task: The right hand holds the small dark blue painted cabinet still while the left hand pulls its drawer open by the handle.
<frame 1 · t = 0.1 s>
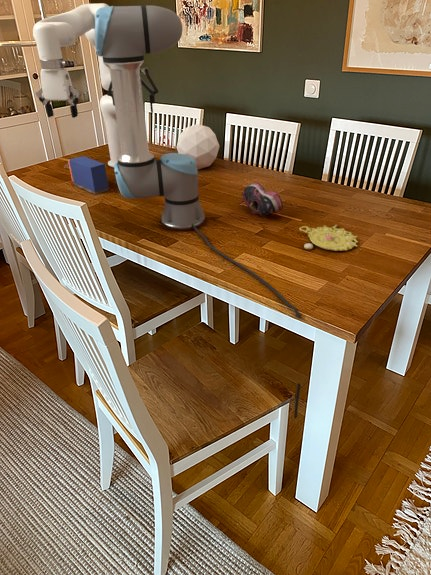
left hand: (62, 116, 163), 31 cm above the table, tool pointing down, fingers open, 9 cm apart
right hand: (135, 113, 181), 28 cm above the table, tool pointing down, fingers open, 13 cm apart
drawer: (81, 171, 190), point 6 cm above the table, slide at 1.7 cm
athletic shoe: (257, 211, 163), on the table
decorative object: (328, 239, 142), on the table
sphere: (198, 167, 208), on the table
cabinet: (91, 187, 189), on the table
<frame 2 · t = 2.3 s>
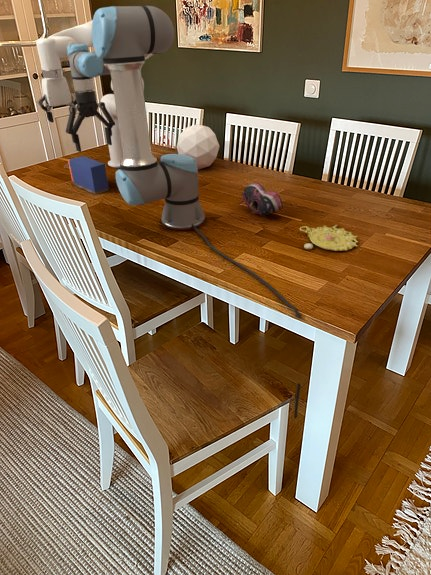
left hand: (62, 119, 183), 26 cm above the table, tool pointing down, fingers open, 9 cm apart
right hand: (94, 147, 178), 17 cm above the table, tool pointing down, fingers open, 13 cm apart
nothing on the table moved.
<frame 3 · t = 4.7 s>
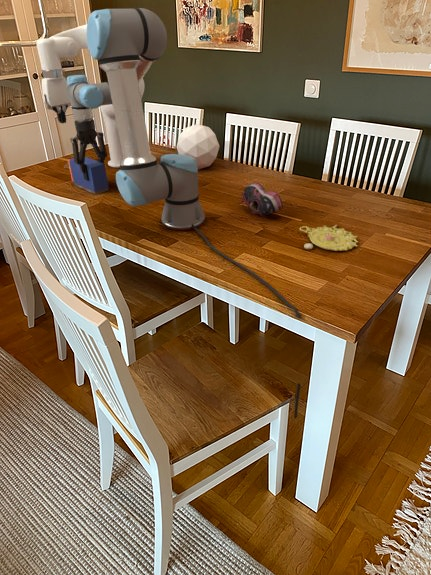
left hand: (62, 122, 185), 25 cm above the table, tool pointing down, fingers closed
right hand: (94, 177, 183), 5 cm above the table, tool pointing down, fingers closed on cabinet, 7 cm apart
cabinet: (91, 187, 189), on the table, touching right hand
everything else where it was.
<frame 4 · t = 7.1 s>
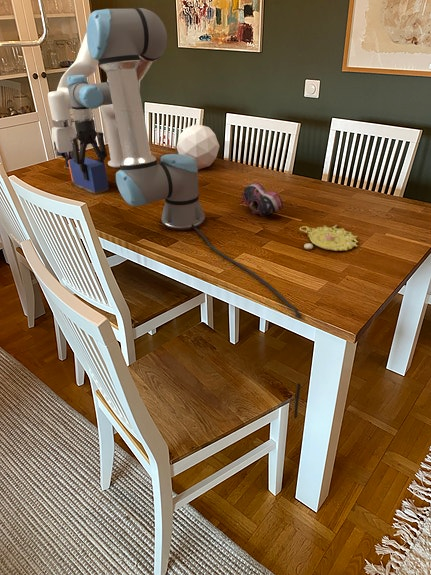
left hand: (70, 167, 194), 6 cm above the table, tool pointing down, fingers closed
right hand: (94, 177, 183), 5 cm above the table, tool pointing down, fingers closed on cabinet, 7 cm apart
drawer: (81, 171, 190), point 6 cm above the table, slide at 1.7 cm, touching left hand
cabinet: (91, 187, 189), on the table, touching right hand
everything else where it was.
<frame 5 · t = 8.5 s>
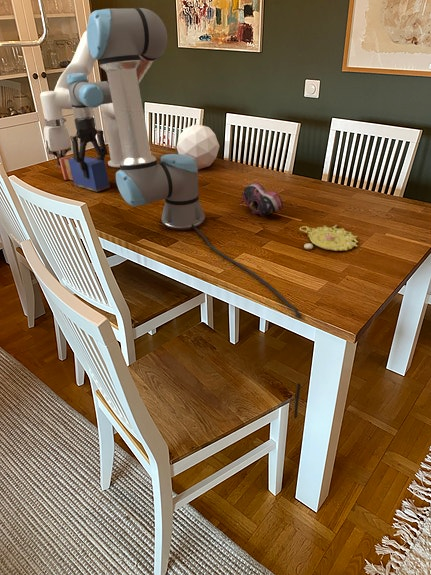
left hand: (62, 165, 198), 6 cm above the table, tool pointing down, fingers closed
right hand: (94, 175, 184), 6 cm above the table, tool pointing down, fingers closed on cabinet, 7 cm apart
drawer: (73, 169, 194), point 5 cm above the table, slide at 7.6 cm, touching left hand
cabinet: (91, 186, 189), on the table, touching right hand
everything else where it was.
when the right hand's fingers open (6 cm above the table, at t = 10.2 s): cabinet stays where it is, on the table.
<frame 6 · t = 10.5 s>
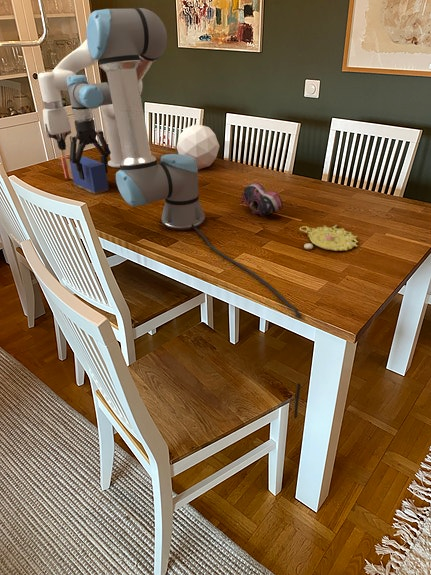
left hand: (62, 149, 194), 13 cm above the table, tool pointing down, fingers closed
right hand: (94, 175, 183), 6 cm above the table, tool pointing down, fingers open, 10 cm apart
drawer: (74, 168, 194), point 6 cm above the table, slide at 7.7 cm
cabinet: (91, 187, 189), on the table
everything else where it was.
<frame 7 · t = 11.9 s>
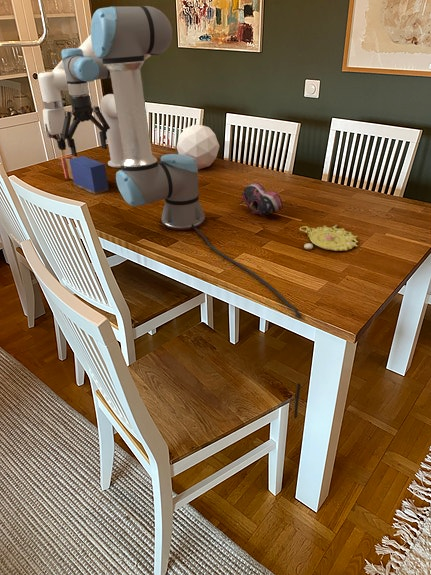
left hand: (62, 149, 194), 13 cm above the table, tool pointing down, fingers closed
right hand: (89, 152, 178), 16 cm above the table, tool pointing down, fingers open, 13 cm apart
nothing on the table moved.
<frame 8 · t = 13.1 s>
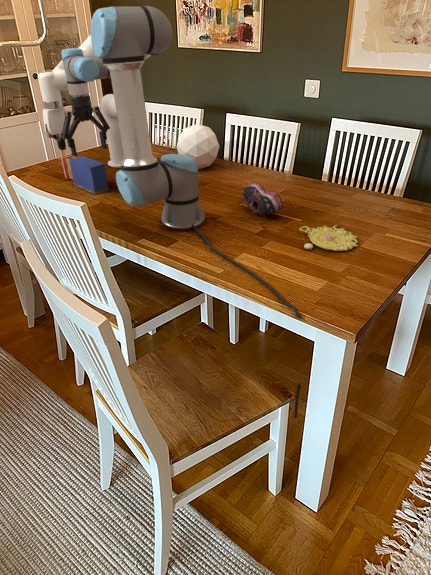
left hand: (62, 149, 194), 13 cm above the table, tool pointing down, fingers closed
right hand: (89, 152, 178), 16 cm above the table, tool pointing down, fingers open, 13 cm apart
nothing on the table moved.
at the end: drawer slide at 7.7 cm; cabinet tilted 0°; cabinet never tilted more than 4° during the clip; cabinet moved 0.1 cm from its start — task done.
